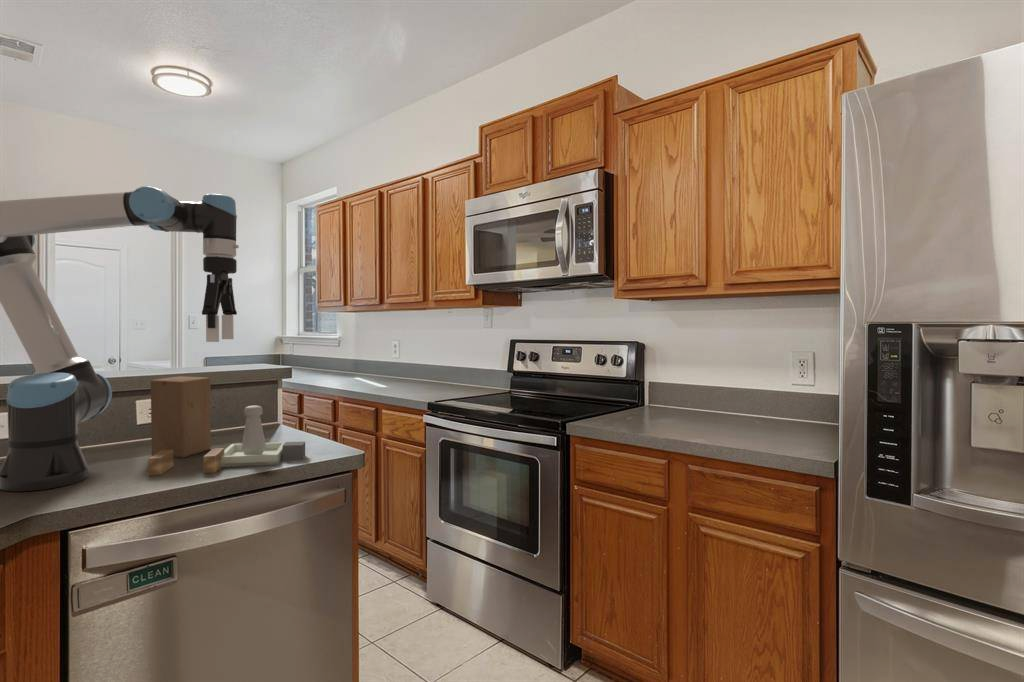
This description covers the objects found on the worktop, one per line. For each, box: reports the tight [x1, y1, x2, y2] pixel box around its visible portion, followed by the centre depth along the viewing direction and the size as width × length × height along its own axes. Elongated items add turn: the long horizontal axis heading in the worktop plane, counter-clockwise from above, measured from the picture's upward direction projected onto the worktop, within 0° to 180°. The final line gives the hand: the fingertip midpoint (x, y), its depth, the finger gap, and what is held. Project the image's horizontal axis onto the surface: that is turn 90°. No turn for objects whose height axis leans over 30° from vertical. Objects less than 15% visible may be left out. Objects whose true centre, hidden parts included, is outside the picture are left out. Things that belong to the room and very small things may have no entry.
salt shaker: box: [241, 405, 267, 455], centre depth 144 cm, size 6×6×13 cm
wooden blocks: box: [148, 447, 225, 476], centre depth 133 cm, size 14×8×4 cm, turn 103°
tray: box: [221, 441, 285, 468], centre depth 144 cm, size 14×14×2 cm
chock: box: [282, 441, 306, 461], centre depth 145 cm, size 5×4×4 cm
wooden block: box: [150, 375, 212, 458], centre depth 149 cm, size 10×10×20 cm
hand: (220, 340), depth 142 cm, fingers open, 13 cm apart
